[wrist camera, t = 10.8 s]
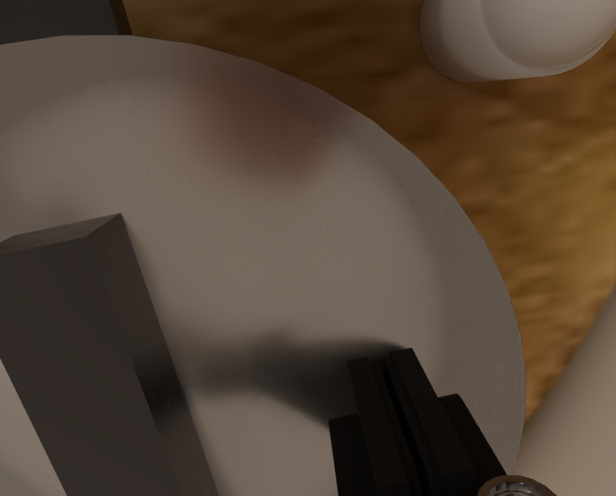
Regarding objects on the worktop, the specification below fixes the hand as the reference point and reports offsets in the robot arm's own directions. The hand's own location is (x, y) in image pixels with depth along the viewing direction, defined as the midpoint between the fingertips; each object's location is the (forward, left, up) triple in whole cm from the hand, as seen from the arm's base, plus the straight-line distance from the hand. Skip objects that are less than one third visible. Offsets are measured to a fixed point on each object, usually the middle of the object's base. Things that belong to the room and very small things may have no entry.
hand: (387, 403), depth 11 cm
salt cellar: (-9, +8, -12) cm, 17 cm away
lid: (0, -6, -1) cm, 6 cm away
